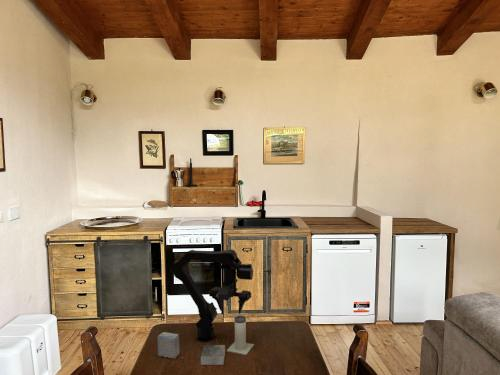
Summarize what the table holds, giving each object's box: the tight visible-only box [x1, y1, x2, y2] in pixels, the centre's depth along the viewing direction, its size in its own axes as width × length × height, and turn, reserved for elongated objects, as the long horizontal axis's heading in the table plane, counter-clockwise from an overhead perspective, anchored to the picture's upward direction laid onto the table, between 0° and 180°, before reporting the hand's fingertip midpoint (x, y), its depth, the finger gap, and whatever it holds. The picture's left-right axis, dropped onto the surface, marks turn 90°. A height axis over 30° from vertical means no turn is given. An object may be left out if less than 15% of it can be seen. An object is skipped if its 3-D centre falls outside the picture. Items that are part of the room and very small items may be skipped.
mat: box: [226, 341, 255, 356], centre depth 155 cm, size 9×9×1 cm
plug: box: [234, 315, 247, 350], centre depth 155 cm, size 5×5×13 cm
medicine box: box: [157, 331, 180, 359], centre depth 150 cm, size 8×4×9 cm, turn 71°
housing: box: [200, 344, 226, 366], centre depth 147 cm, size 9×9×4 cm
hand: (230, 312), depth 162 cm, fingers open, 9 cm apart
